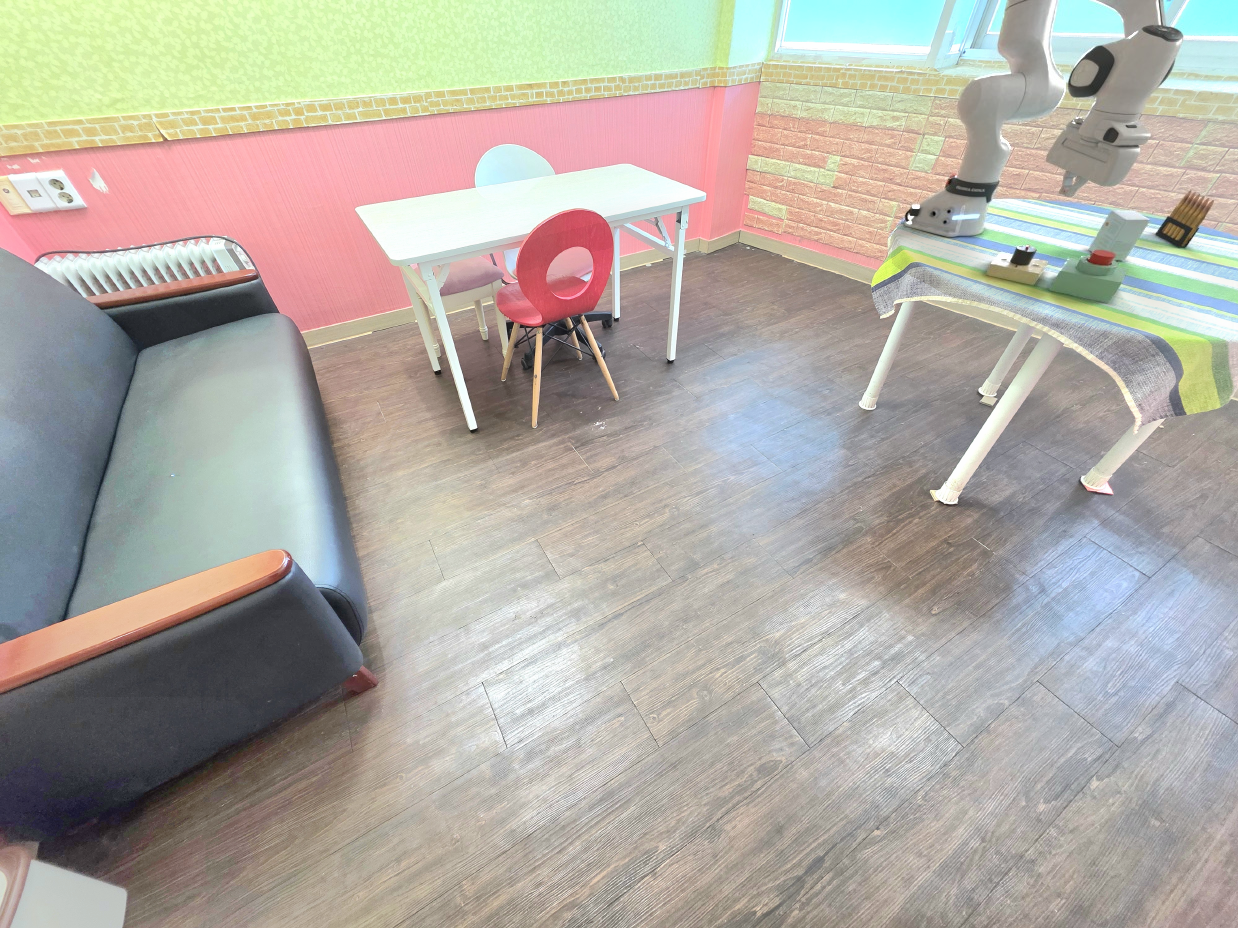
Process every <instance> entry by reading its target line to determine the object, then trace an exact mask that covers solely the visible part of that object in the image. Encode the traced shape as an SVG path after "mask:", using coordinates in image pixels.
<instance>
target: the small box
mask: <svg viewBox="0 0 1238 928" xmlns="http://www.w3.org/2000/svg"><path fill="white" fill-rule="evenodd" d="M1150 222H1151V219H1150V218H1148V217H1146V216H1144V215H1143V214H1141V213H1140V212H1138V211H1136V210H1125V209H1124V210H1119V209H1118V210H1115V209H1114V210H1113V209H1112V210H1110V211H1109V213H1108V215H1107V216H1106V218H1105V219H1104V221H1103V223H1102V225H1101V227H1100V229H1099V230H1098V231H1097V233H1096V235H1095V237H1094V239H1093V241H1092V242H1091V244H1090V246H1089V247H1088V251H1089V252H1091V253H1092V252H1093V251H1094V250H1106V251H1110V252H1113V253H1115V254H1116V256H1115V258H1114V259H1113V260H1115V261H1125V260H1126V259H1127V258H1128V256H1129V255H1130V253H1131V252H1132V250H1133V248H1134V247H1135V246H1136V244H1137V242H1138V241H1139V239H1140V237H1141V236H1142V234H1143V233H1144V231H1145V230H1146V228H1147V226H1148V225H1149V223H1150Z"/></svg>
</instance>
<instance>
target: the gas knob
mask: <svg viewBox="0 0 1238 928" xmlns="http://www.w3.org/2000/svg"><path fill="white" fill-rule="evenodd" d="M1037 251H1038V249H1037V248H1036V247H1034V246H1031V245H1030V244H1026V245H1023V244H1022V245H1018V246H1017V245H1016V247H1015V250H1014V251H1013V253H1012V254H1013V256H1012V258H1011V260H1010V262H1011V263H1013V264H1016V265H1029V264H1030V262H1031V261H1032V259H1033V258H1034V257H1035V255H1036V253H1037Z"/></svg>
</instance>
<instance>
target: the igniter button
mask: <svg viewBox="0 0 1238 928" xmlns="http://www.w3.org/2000/svg"><path fill="white" fill-rule="evenodd" d="M1089 256H1090V257H1089V259H1088V260H1087V261H1088V262H1090V263H1092V264H1096V265H1101V266H1108V265H1110V264H1111V262H1112V261H1113V259H1114V258H1115V256H1116V254H1115V253H1113V252H1110V251H1106V250H1094V251H1093V252H1091V253H1090V255H1089Z"/></svg>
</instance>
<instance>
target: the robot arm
mask: <svg viewBox="0 0 1238 928" xmlns="http://www.w3.org/2000/svg"><path fill="white" fill-rule="evenodd" d="M1059 1H1060V0H1006V2H1005V8H1004V12H1003V17H1002V21H1001V26H1000V30H999V35H998V40H997V46H996V47H997V52H998V54H999V55H1000V56H1001V57H1002V58H1003V59H1005V60H1006V61H1007V63H1008V66H1009V68H1010V72H1006V73H1005V72H1004V73H992V74H988V75H984V76H980V77H977V78H974V79H973V80H971V81H970V82H968V83H967V84H966V86H965V87H964V88H963V90H962V92H961V93H960V94H959V97H958V100H957V103H956V114H957V117H958V120H959V121H960V122H961V123H962V124H963V126H964V129H965V132H966V144H965V151H964V153H963V157H962V159H961V163H960V166H959V169H958V171H957V173H953V174H952V175H950V176H949V178H948V179H947V180H946V183H945V186H944V189H941V190H940V191H938V192H936V193H934V194H932V195H930V196H928V197H926V198H925V199H923V200H922V201H921V202H920V203H919V204H910V207H909V209H908V210H907V211H906V212H905V214H904V221H903V226H905V227H908V228H912V229H915V230H919V231H924V232H927V233H931V234H934V235H938V236H943V237H946V238H953V237H954V238H955V237H970V236H971V237H972V236H976V235H977V236H978V235H980V234H982V233H983V232H984V229H985V222H986V217H987V213H988V211H989V207H990V204H991V202H992V200H993V199H994V197H995V195H996V193H997V190H998V188H999V185H1000V183H1001V179H1000V178H1001V176H1002V174H1003V171H1004V169H1005V167H1006V165H1007V162H1008V160H1009V157H1010V156H1011V151H1012V150H1011V146H1010V144H1009V142H1008V141H1007V140H1006V139H1004V138H1003V137H1002V129H1003V126H1004V123H1019V122H1021V123H1022V122H1029V121H1033V120H1037V119H1040V118H1043V117H1047V116H1049V115H1050V114H1052V112H1054V111H1055V110H1056V109H1057V107H1058V106H1059V105H1060V104H1061V102H1062V100H1063V99H1064V96H1065V93H1066V89H1067V90H1068V93H1069V95H1070V96H1071V97H1072V98H1075V99H1078V100H1083V101H1084V100H1086V101H1087V100H1089V101H1091V100H1092V101H1093V100H1094V103H1093V104H1092V106H1091V107H1090V109H1089V111H1088V113H1087V114H1086V116H1085V118H1083V117H1079V116H1078V117H1076V118H1074V119H1072V120H1071V121H1069V122H1068V123H1067V124H1066V127H1065V128H1064V129H1063V130H1062V131H1061V133H1060V134H1059V135H1058V136H1057V138H1056V140H1055V141H1054V142H1053V144H1052V145H1051V147H1050V148H1049V151H1048V152H1047V153H1046V157H1045V162H1046V163H1048V164H1051V165H1053V166H1055V167H1057V168H1059V169H1062V170H1064V171H1065V172H1064V174H1063V176H1062V184H1061V186H1060V189H1059V191H1058V194H1060V195H1062V196H1063V197H1065V198H1073V197H1074V196H1075V195H1076V193H1077V192H1078V190H1080V189H1081V188H1082V187H1083V186H1084V185H1086V184H1087V183H1088V182H1091V183H1093V184H1095V185H1097V186H1100V187H1116V186H1118V185H1119V184H1121V183H1122V182H1123V181H1124V180H1125V178H1126V177H1127V175H1128V174H1129V173H1130V171H1131V170H1132V168H1133V166H1134V165H1135V163H1136V161H1137V160H1138V158H1139V156H1140V153H1141V147H1140V146H1144V145H1146V144H1147V143H1148V141H1150V138H1151V137H1152V134H1151V131H1149V130H1148V128H1147V127H1146V126H1145V124H1143V121H1142V120H1141V119H1140V117H1141V115H1142V113H1143V112H1144V110H1145V107H1146V104H1147V102H1148V100H1149V98H1150V97H1151V96H1152V94H1154V92H1155V91H1156V90H1158V88H1159V87H1161V86H1162V85H1163V84H1164V82H1165V81H1166V80H1167V79H1168V77H1169V76H1170V75H1171V73H1172V71H1173V68H1174V67H1175V63H1176V58H1177V57H1178V54H1179V52H1180V49H1181V47H1182V45H1183V41H1184V34H1183V32H1182V31H1181V30H1180V29H1178V28H1175V27H1173V26H1167V21H1166V13H1165V5H1164V0H1091V1H1092V2H1095V3H1098V4H1101V5H1103V6H1106V7H1107V8H1110V9H1112V10H1113V11H1115V12H1116V13H1117V14H1118V15H1119V17H1120V18H1121V21H1122V25H1123V33H1124V34H1123V35H1124V38H1122V39H1119V40H1116V41H1112V42H1108V43H1104V44H1100V45H1095V46H1093V47H1092V48H1091V49H1089V50H1088V51H1086V52H1085V53H1084V54H1083V55H1081V57H1080V58H1079V59H1078V60H1077V62H1076V63H1075V65H1074V66H1073V68H1072V69H1071V73H1069V76H1068V80H1066V78H1065V76H1064V74H1062V73H1061V72H1060V71H1059V69H1058V68H1057V66H1056V64H1055V61H1054V58H1053V52H1052V33H1053V29H1054V23H1055V19H1056V15H1057V14H1056V13H1057V10H1058V6H1059ZM1066 81H1067V82H1066ZM1074 178H1075V179H1074ZM1074 181H1075V182H1074ZM1073 182H1074V183H1073Z"/></svg>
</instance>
